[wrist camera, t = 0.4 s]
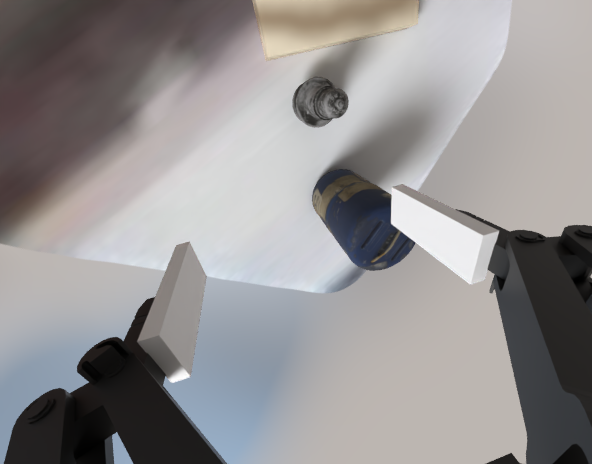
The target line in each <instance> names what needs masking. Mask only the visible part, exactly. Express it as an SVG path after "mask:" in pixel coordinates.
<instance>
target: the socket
mask: <svg viewBox="0 0 592 464" xmlns="http://www.w3.org/2000/svg"><path fill="white" fill-rule="evenodd" d="M252 1H253V5H254V10H255V14H256V19H257V23H258V28H259V32H260V37H261V41H262V46H263V50H264V55H265V59H266V61H269V60H273V59H277V58H282V57H286V56H290V55H295V54H299V53H303V52H308V51H312V50H316V49H321V48H325V47H329V46H334V45H338V44H342V43H347V42H351V41H356V40H360V39H364V38H369V37H373V36H377V35H382V34H386V33H390V32H395V31H399V30H403V29H407V28H409V27H412V26H414V25H416V24H418V8H419V0H252Z"/></svg>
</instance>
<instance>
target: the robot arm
mask: <svg viewBox="0 0 592 464" xmlns="http://www.w3.org/2000/svg"><path fill="white" fill-rule="evenodd" d="M391 224H392V225H393V226H395V227H396V228H397V229H399V230H400V231H401V232H403V233H404V234H405V235H406V236H408V237H409V238H410V239H412V240H413V241H414V242H416V243H417V244H418V245H420V246H421V247H422V248H423V249H425V250H426V251H427V252H429V253H430V254H431V255H432V256H434V257H435V258H436V259H438V260H439V261H440V262H442V263H443V264H444V265H446V266H447V267H448V268H449V269H451V270H452V271H454V272H455V273H456V274H457V275H459V276H460V277H461V278H462V279H464V280H465V281H466V282H468V283H469V284H470V285H471V284H474V283H477V282H480V281H483V280H485V277H486V274H487V271H488V270H489V271H491V272H492V273H494V274H495V275H494V278H493V281H492V285H491V288H490V293H492V292H493V290H494V289H495V291H496V296H497V300H498V305H499V309H500V314H501V318H502V323H503V327H504V331H505V336H506V341H507V345H508V350H509V354H510V359H511V363H512V368H513V372H514V377H515V381H516V385H517V390H518V395H519V399H520V404H521V408H522V412H523V417H524V422H525V426H526V431H527V450H526V463H527V464H592V278H590V276H591V274H592V226H586V225H572V226H568V227H565V228H564V231H563V233H562V235H561V236H559V237H545V236H543V235H541V234H539V233H536V232H532V231H526V230H515V231H511V232H509V231H507V230H505V229H503V228H501V227H499V226H497V225H494V224H492V223H490V222H488V221H486V220H485V221H484V219H481V218H479V217H476V216H475V215H473V214H471V213H469V212H465V211H461V210H457V209H453V208H451V207H449V206H447V205H445V204H443V203H441V202H438V201H436V200H434V199H432V198H430V197H428V196H426V195H424V194H421V193H420V192H418V191H416V190H413V189H411V188H409V187H407V186H405V185H403V184H401V185H398V186H394V187H392V199H391ZM206 277H207V276H206V274H205V272H204V270H203V268H202V266H201V264H200V262H199V260H198V258H197V256H196V254H195V252H194V250H193V248H192V246H191V244H190V242H186V243H183V244H179V245H176V247H175V250H174V252H173V255H172V257H171V260H170V262H169V264H168V267H167V269H166V272H165V275H164V277H163V279H162V282H161V284H160V287H159V289H158V292H157V294H156V296H155V297H154V298H150V299H147V300H146V301H145V302H144V303H143V304H142V306H141V307H140V308H139V309H138V311H137V313H136V316H135V319H134V320H133V322H132V324H131V327H130V329H129V331H128V333H127V335H126V337H125V339H124V341H122V340H121V339H120V338H118V337H113V338H108V339H106V340H103V341H101V342H100V343H98V344H96V345H95V346H94V347H92V348H91V349H90V350H89V351H88V352H87V353H86V354H85V355H84V356H83V357H82V358H81V360H80V362H79V364H78V366H77V372H78V373H79V374H80V375H81V376H83V377H84V378H85V379H86V380H87V381H89V383H87V384H86V385H84V386H82V387H80V388H78V389H77V390H75V391H73V392H71V393H68V392H67V391H66V390H64V389H61V388H58V389H53V390H51V391H49V392H47V393H45V394H43V395H42V396H40V397H39V398H38V399H36V400H35V401H33V402H32V403H31V404H30V405H29V406H28V407H27V408H26V409H25V410H24V411H23V412H22V414H21V415H20V416H19V418H18V419H17V421H16V423H15V425H14V427H13V430H12V434H11V438H10V442H9V446H8V450H7V454H6V458H5V461H4V464H114V456H113V443H112V435H113V434H115V433H116V432H117V433H118V435H119V436H120V438H121V440H122V442H123V444H124V446H125V448H126V450H127V452H128V454H129V456H130V457H131V460H132V461H133V464H227V463H226V462H225V461H224V459H223V458H222V457H221V456H220V455H219V454H218V452H217V451H216V450H215V449H214V447H213V446H212V445H211V444H210V442H209V441H208V440H207V439H206V438H205V436H204V435H203V434H202V433H201V432H200V430H199V429H198V428H197V427H196V425H195V424H194V423H193V422H192V421H191V419H190V418H189V417H188V416H187V414H186V413H185V412H184V411H183V410H182V408H181V407H180V406H179V405H178V403H177V402H176V401H175V400H174V399H173V397H172V396H171V395H170V394H169V393H168V391H167V390H166V389H165V388H164V387H163V383H164V379H165V376H166V377H167V378H168V379H169V380H170V381H171V383H173V382H176V381H179V380H183V379H185V378H188V377H191V371H192V365H193V358H194V352H195V346H196V340H197V333H198V327H199V321H200V315H201V308H202V302H203V296H204V289H205V283H206ZM487 464H520V463H519V462H518V461H517V459H516V458H515V457H514V456H513V454H512V453H510V454H508V455H505V456H503V457H501V458H498V459H496V460H494V461H491V462H489V463H487Z"/></svg>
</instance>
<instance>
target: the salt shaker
mask: <svg viewBox="0 0 592 464" xmlns="http://www.w3.org/2000/svg"><path fill="white" fill-rule="evenodd" d="M347 108H348V97H347V95H346V93H345V92H344V91H343V90H341V89H336V88H335V87H334V85H333V84H332V83H331V82H330V81H329V80H327V79H325V78H322V77H315V78H311V79H309V80H308V81H306V82H305V83H303V84H302V85H301V86H299V87H298V89H297V90H296V92H295V94H294V96H293V110H294V112H295V114H296V116H297V117H298V118H299V119H300V120H301V121H303V122H304V123H305V124H307V125H308V126H311V127H322V126H325V125H326V124H328V123H329V122H330V121H331V120H332V119H333V118H339V117H341V116H342V115H343V114H344V113H345V112H346V110H347Z"/></svg>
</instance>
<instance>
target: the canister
mask: <svg viewBox="0 0 592 464" xmlns="http://www.w3.org/2000/svg"><path fill="white" fill-rule="evenodd" d="M391 199H392V195H391V194H389V193H388V192H386V191H384V190H383V189H381V188H380V187H378V186H376V185H374V184H372V183H370V182H369V181H367V180H366V179H364V178H362V177H361V176H359V175H357V174H356V173H354V172H352V171H349V170H335V171H332V172H329V173H328V174H326V175H325V176H323V177H322V178H321V179H320V180H319V181H318V183H317V184H316V186H315V188H314V191H313V196H312V202H313V206H314V209H315V211H316V213H317V214H318V215H319V216H320V218H321V219H322V221H323V222H324V224H325V225H326V227H327V228H328V230H329V231H330V232H331V233H332V235H333V236H334V237H335V239H336V240H337V242H338V243H339V244H340V246H341V247H342V249H343V250H344V251H345V253H346V254H347V255H348V257H349V258H350V260H351V261H352V262H353V263H354V264H355V265H357V266H358V267H360V268H363V269H366V270H373V271H374V270H382V269H386V268H389V267H391V266H393V265H395V264H397V263H398V262H400V261H401V260H402V259H403V258H404V257H405V256H407V254H408V253H409V252H410V251H411V250H412V248H413V246H414V245H415V243H416V242H414V241H413V240H412V239H410V238H409V237H408V236H406V235H405V234H404V233H403V232H401V231H400V230H399V229H397V228H396V227H395V226H393V225H392V224H391Z"/></svg>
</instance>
